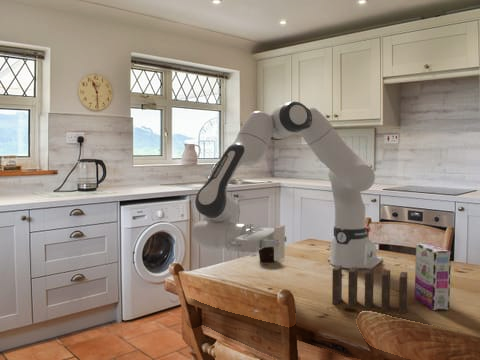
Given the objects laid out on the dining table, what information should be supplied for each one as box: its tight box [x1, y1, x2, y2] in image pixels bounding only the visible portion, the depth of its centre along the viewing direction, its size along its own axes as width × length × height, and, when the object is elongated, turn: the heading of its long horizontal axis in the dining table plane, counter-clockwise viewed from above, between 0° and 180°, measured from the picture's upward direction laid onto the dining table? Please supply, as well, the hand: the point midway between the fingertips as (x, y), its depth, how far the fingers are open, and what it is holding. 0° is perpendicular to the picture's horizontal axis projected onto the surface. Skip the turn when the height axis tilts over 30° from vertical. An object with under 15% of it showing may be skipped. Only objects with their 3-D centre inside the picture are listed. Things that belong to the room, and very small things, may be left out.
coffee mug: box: [258, 247, 276, 264], centre depth 178 cm, size 12×9×10 cm
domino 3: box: [364, 268, 375, 310], centre depth 127 cm, size 2×5×10 cm, turn 155°
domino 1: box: [331, 265, 343, 305], centre depth 131 cm, size 2×5×10 cm, turn 155°
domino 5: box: [398, 271, 408, 315], centre depth 123 cm, size 2×5×10 cm, turn 155°
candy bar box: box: [414, 242, 452, 312], centre depth 128 cm, size 11×5×16 cm, turn 5°
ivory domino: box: [274, 224, 286, 262], centre depth 137 cm, size 2×5×10 cm, turn 156°
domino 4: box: [380, 269, 391, 312], centre depth 125 cm, size 2×5×10 cm, turn 156°
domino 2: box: [347, 267, 359, 308], centre depth 129 cm, size 2×5×10 cm, turn 155°
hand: (282, 241), depth 137 cm, fingers closed on ivory domino, 5 cm apart
